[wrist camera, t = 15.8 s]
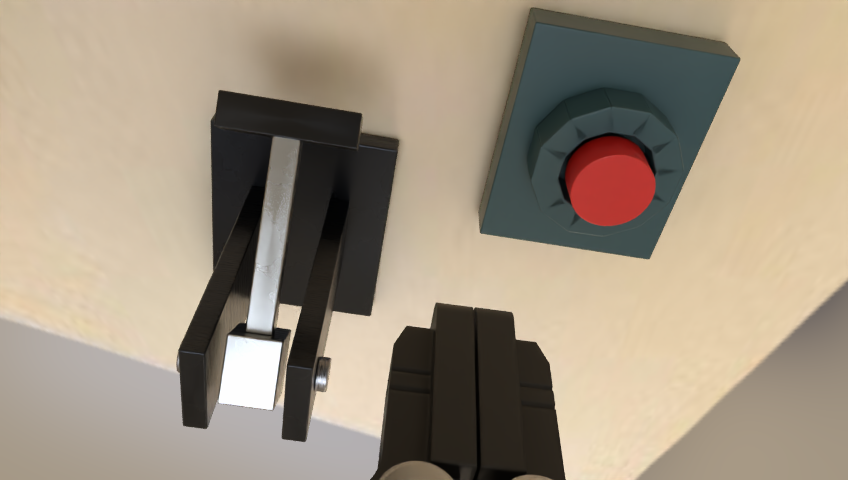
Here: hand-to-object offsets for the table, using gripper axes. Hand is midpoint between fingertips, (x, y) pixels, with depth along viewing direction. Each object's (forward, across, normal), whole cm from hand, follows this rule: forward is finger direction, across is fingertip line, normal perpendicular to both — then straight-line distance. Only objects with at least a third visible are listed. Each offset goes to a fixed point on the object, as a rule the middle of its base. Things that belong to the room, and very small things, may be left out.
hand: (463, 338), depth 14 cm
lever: (+13, +6, +9) cm, 17 cm away
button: (+17, -7, +5) cm, 19 cm away
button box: (+21, -7, +6) cm, 23 cm away
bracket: (+20, +7, +12) cm, 25 cm away
